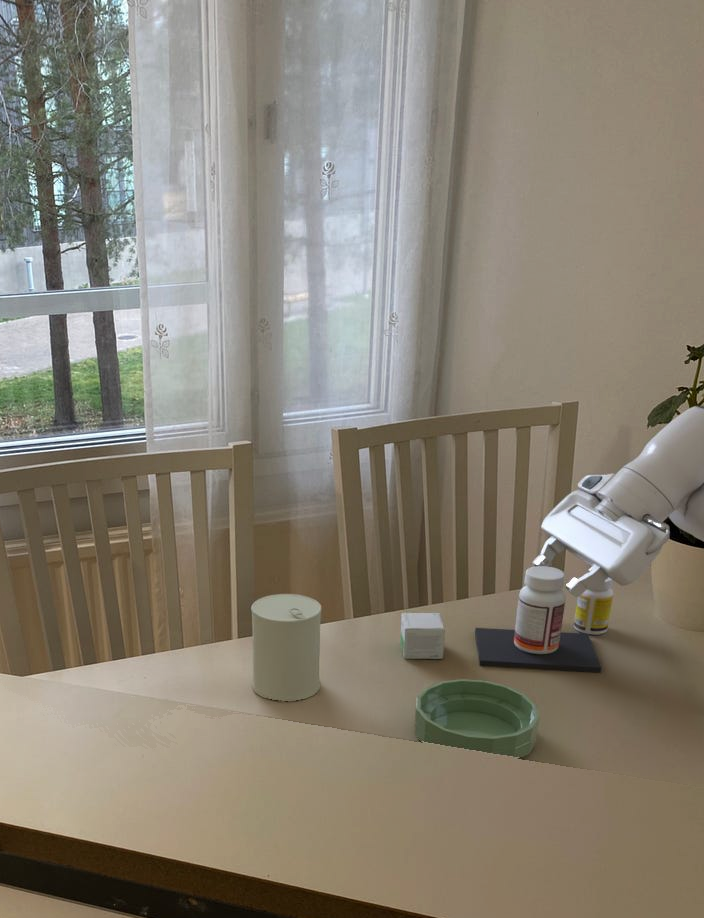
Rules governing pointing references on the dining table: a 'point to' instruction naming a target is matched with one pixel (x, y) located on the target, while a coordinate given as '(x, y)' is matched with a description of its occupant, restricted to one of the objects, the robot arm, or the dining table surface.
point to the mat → (504, 653)
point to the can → (286, 646)
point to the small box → (422, 636)
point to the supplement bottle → (594, 609)
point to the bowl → (477, 717)
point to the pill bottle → (540, 611)
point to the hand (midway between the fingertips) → (553, 580)
